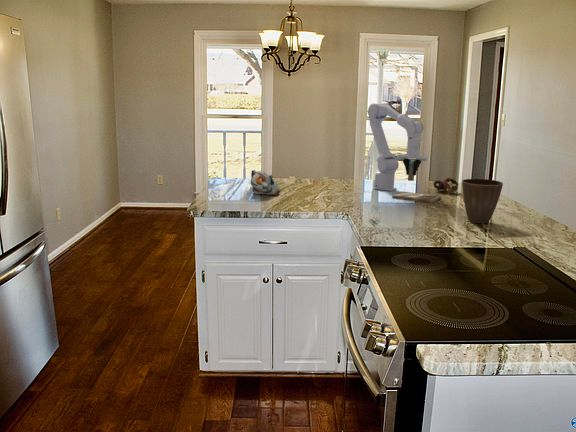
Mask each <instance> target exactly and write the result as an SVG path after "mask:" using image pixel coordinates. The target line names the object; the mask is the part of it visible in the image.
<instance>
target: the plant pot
mask: <svg viewBox="0 0 576 432" xmlns="http://www.w3.org/2000/svg"><path fill="white" fill-rule="evenodd" d="M503 185H504V183H503V182H502V181H500V180H495V179H494V180H493V179H487V178H466V179H465V178H464V179H462V180H461V186H462V197H463V203H464V208H465V209H464V210H465V213H466V217H467V219H468V222H469V221H470V223H471V222H473V223H472V224H475V223H487V224H489V223H488V222H490V221H491V219H492V217H493V215H494V212H495V210H496V209H497V206H498V202H499V200H500V196H501V194H502V189H503Z"/></svg>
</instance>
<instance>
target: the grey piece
mask: <svg viewBox="0 0 576 432" xmlns="http://www.w3.org/2000/svg"><path fill="white" fill-rule="evenodd" d="M250 174H251V175H250V183H251V186H252V193H253V194H254V195H269V196H270V195H271V196H277V195H279V194H280V193H281V192H282V191H281V190H280V188H279V186H278V183H277V181H276V180H275V179H273V178H274V177H273V175H272V174H270V175H268V174H267V173H266V172H265V171H263V170H259V171H258V170H257V171H256V169H253V170H251V173H250Z"/></svg>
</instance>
